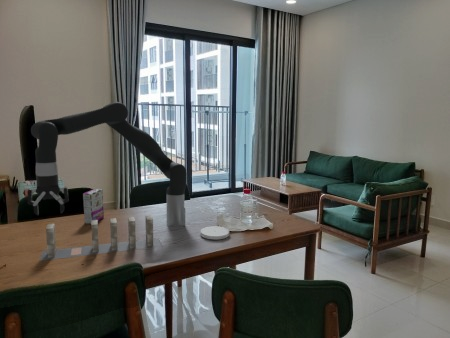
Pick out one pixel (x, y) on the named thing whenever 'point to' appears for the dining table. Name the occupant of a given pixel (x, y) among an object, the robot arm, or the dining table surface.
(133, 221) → the ivory domino
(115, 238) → the ivory domino
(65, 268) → the dining table surface
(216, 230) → the plastic lid
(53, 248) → the domino
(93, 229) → the ivory domino
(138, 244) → the domino board
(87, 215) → the candy bar box
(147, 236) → the ivory domino
